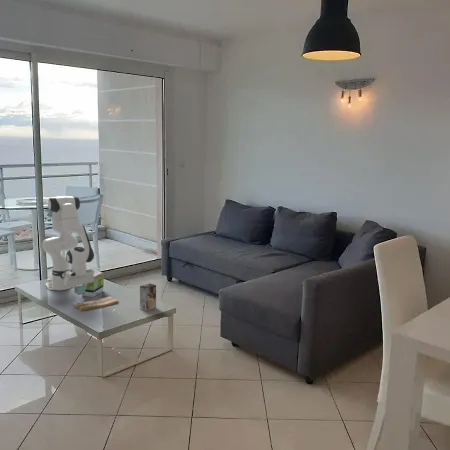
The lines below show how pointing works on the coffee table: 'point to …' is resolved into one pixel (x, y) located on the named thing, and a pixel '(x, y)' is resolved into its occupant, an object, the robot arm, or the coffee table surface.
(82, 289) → the block
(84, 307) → the board
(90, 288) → the tea box
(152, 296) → the coffee box
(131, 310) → the coffee table surface
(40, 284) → the coffee table surface
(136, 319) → the coffee table surface
